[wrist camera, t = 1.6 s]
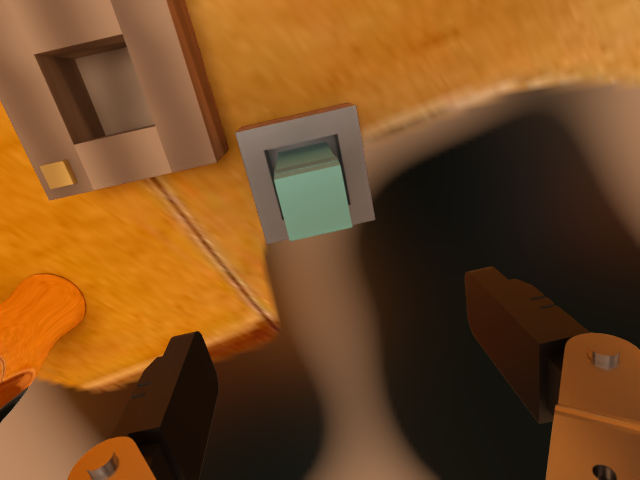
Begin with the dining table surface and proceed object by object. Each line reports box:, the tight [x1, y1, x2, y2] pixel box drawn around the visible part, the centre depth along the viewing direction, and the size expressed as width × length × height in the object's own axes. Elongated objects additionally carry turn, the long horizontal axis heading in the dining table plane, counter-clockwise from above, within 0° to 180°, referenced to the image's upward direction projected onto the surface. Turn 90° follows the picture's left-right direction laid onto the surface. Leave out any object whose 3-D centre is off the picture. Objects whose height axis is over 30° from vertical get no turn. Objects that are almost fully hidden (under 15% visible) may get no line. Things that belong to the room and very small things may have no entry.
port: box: [0, 0, 229, 201], centre depth 28 cm, size 12×12×7 cm
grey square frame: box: [235, 103, 375, 244], centre depth 32 cm, size 9×9×4 cm
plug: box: [274, 142, 352, 241], centre depth 29 cm, size 4×4×10 cm
